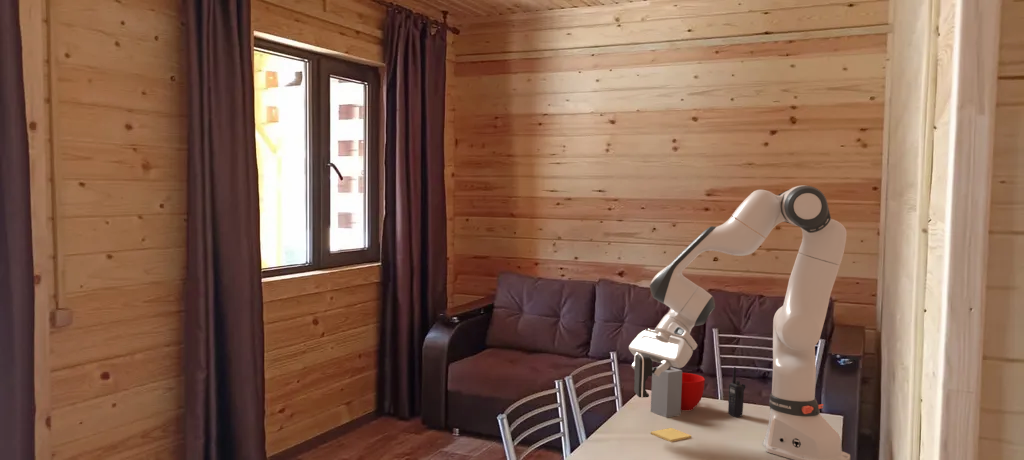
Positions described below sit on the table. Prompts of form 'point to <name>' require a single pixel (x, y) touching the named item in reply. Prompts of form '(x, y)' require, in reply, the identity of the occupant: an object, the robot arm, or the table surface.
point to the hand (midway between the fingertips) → (644, 371)
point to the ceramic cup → (691, 390)
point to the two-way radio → (736, 396)
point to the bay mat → (671, 434)
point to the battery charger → (642, 374)
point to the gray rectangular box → (666, 392)
